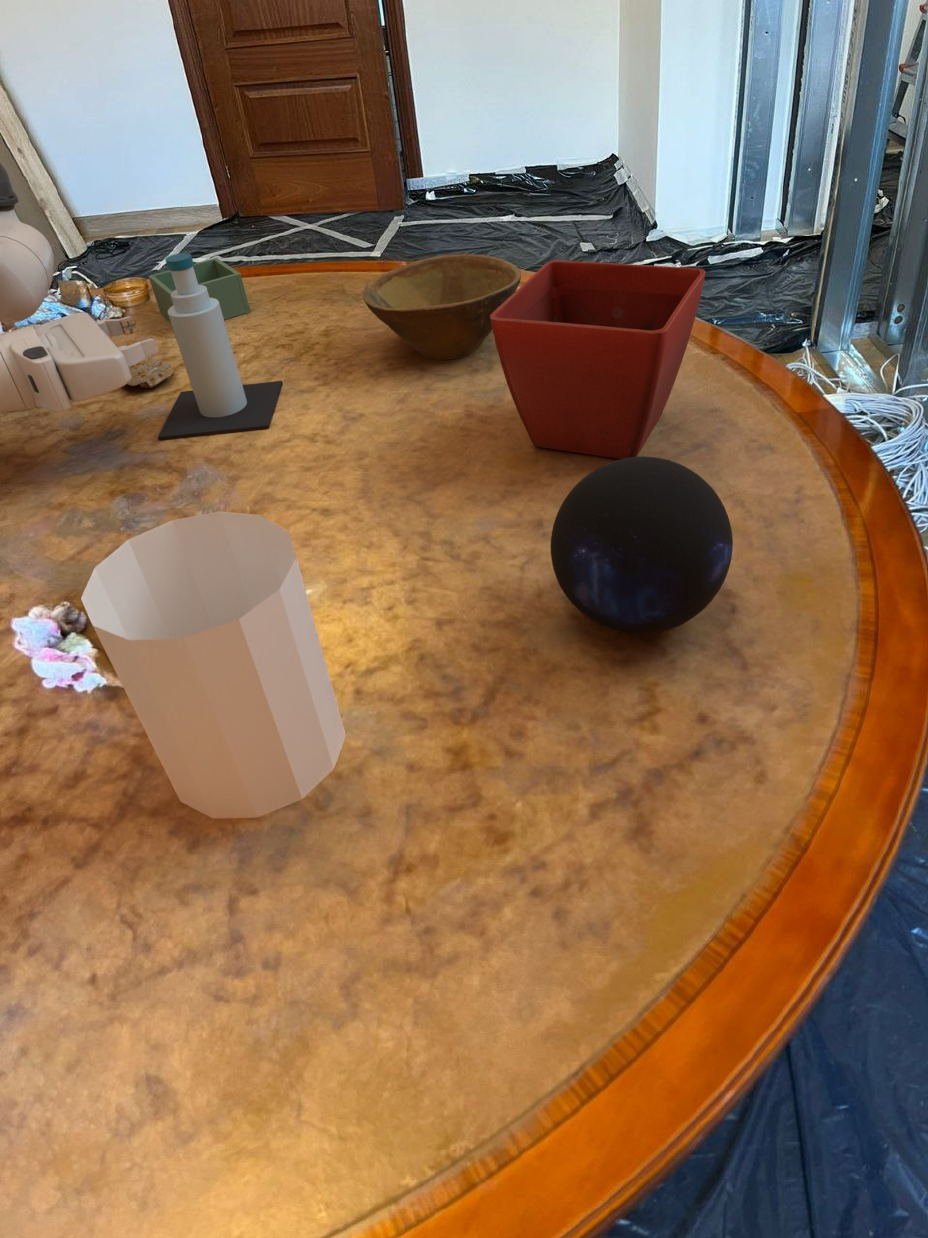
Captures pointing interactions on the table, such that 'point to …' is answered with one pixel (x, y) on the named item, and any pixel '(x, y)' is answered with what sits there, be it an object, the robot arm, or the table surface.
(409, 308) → the bowl
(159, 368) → the seashell
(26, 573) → the table surface
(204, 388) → the bottle
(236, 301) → the green open box
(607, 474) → the decorative sphere
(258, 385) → the mat
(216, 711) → the container
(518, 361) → the flower pot
